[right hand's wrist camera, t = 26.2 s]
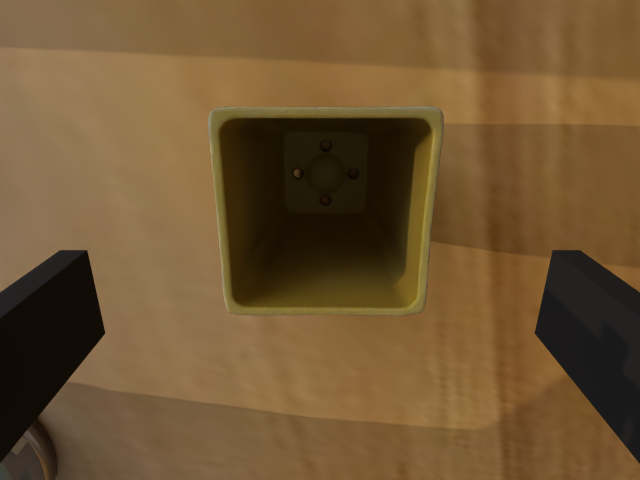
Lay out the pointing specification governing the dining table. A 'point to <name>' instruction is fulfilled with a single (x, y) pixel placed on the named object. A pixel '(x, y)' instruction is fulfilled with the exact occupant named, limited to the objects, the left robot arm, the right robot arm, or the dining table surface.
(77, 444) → the dining table surface
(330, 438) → the dining table surface
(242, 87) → the dining table surface
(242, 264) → the yellow square planter
